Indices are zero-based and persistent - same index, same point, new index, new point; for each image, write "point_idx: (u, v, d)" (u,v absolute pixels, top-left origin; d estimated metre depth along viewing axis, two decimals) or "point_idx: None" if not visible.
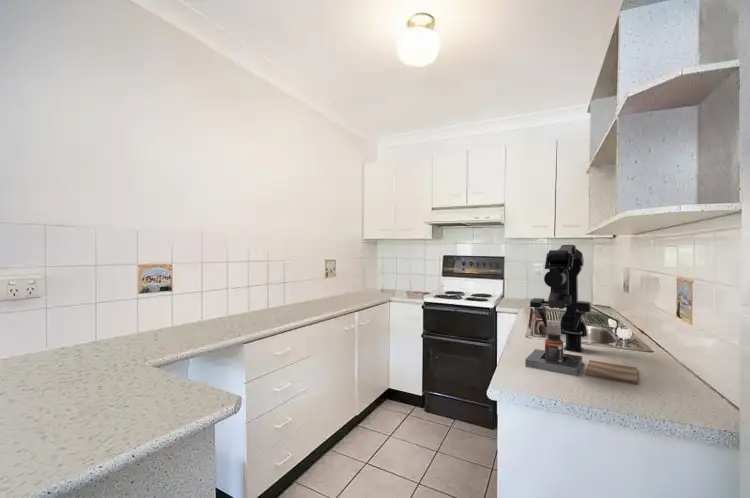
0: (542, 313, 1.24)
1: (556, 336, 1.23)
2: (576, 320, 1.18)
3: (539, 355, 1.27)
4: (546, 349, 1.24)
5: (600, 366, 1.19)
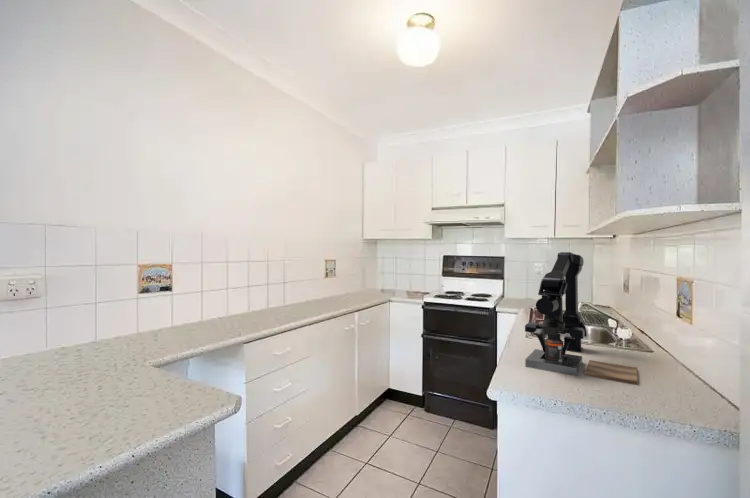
0: (541, 338, 1.25)
1: (556, 336, 1.23)
2: (565, 345, 1.21)
3: (539, 355, 1.27)
4: (546, 349, 1.24)
5: (600, 366, 1.19)
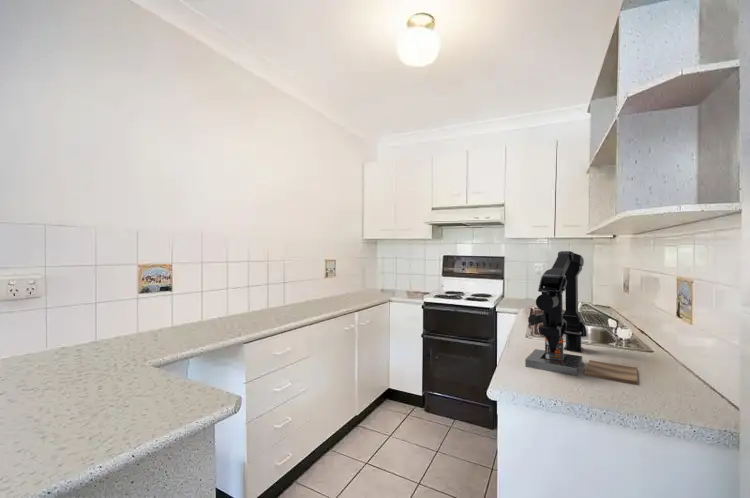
0: None
1: None
2: None
3: (539, 355, 1.27)
4: None
5: (600, 366, 1.19)
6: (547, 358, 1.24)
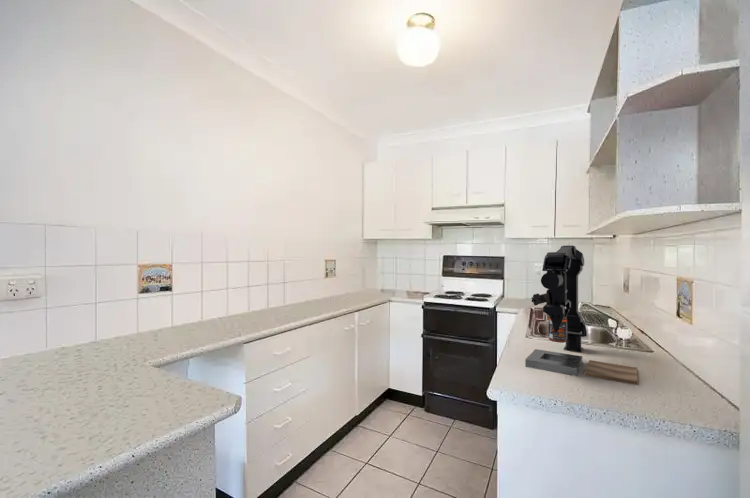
0: None
1: None
2: None
3: (539, 355, 1.27)
4: None
5: (600, 366, 1.19)
6: (550, 337, 1.23)
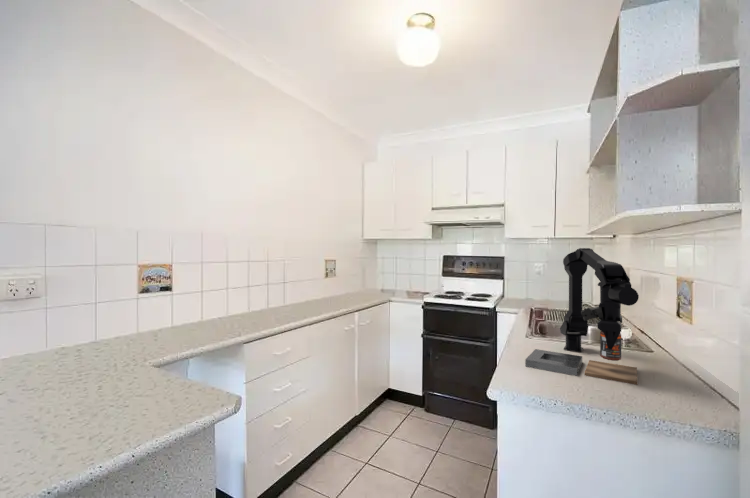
0: None
1: None
2: (605, 337, 1.14)
3: (539, 355, 1.27)
4: None
5: (600, 366, 1.19)
6: (603, 355, 1.15)
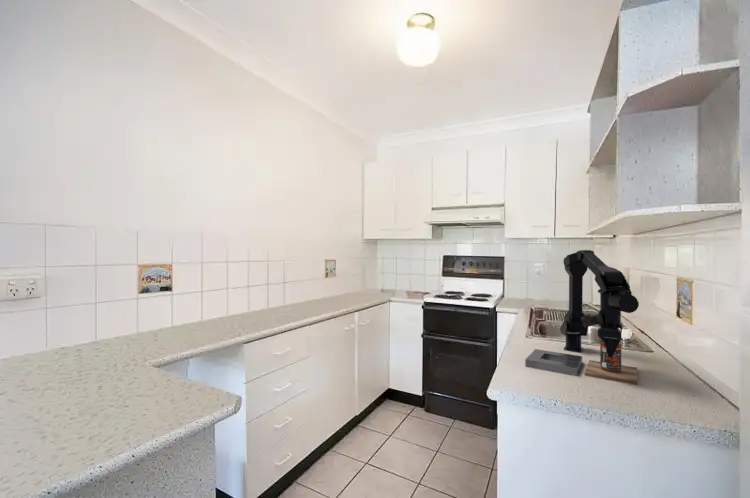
0: None
1: None
2: (605, 345, 1.12)
3: (539, 355, 1.27)
4: None
5: (600, 366, 1.19)
6: (604, 366, 1.15)
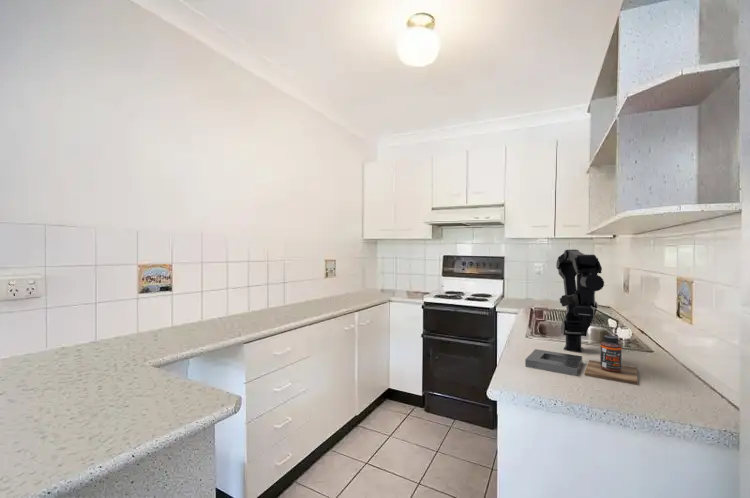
0: None
1: (605, 338, 1.16)
2: (580, 321, 1.23)
3: (539, 355, 1.27)
4: None
5: (600, 366, 1.19)
6: (604, 366, 1.15)
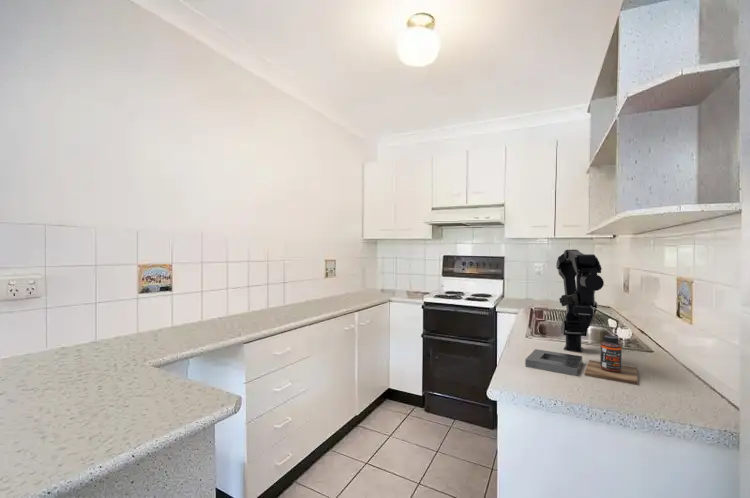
0: None
1: (605, 338, 1.16)
2: (580, 321, 1.24)
3: (539, 355, 1.27)
4: None
5: (600, 366, 1.19)
6: (604, 366, 1.15)
